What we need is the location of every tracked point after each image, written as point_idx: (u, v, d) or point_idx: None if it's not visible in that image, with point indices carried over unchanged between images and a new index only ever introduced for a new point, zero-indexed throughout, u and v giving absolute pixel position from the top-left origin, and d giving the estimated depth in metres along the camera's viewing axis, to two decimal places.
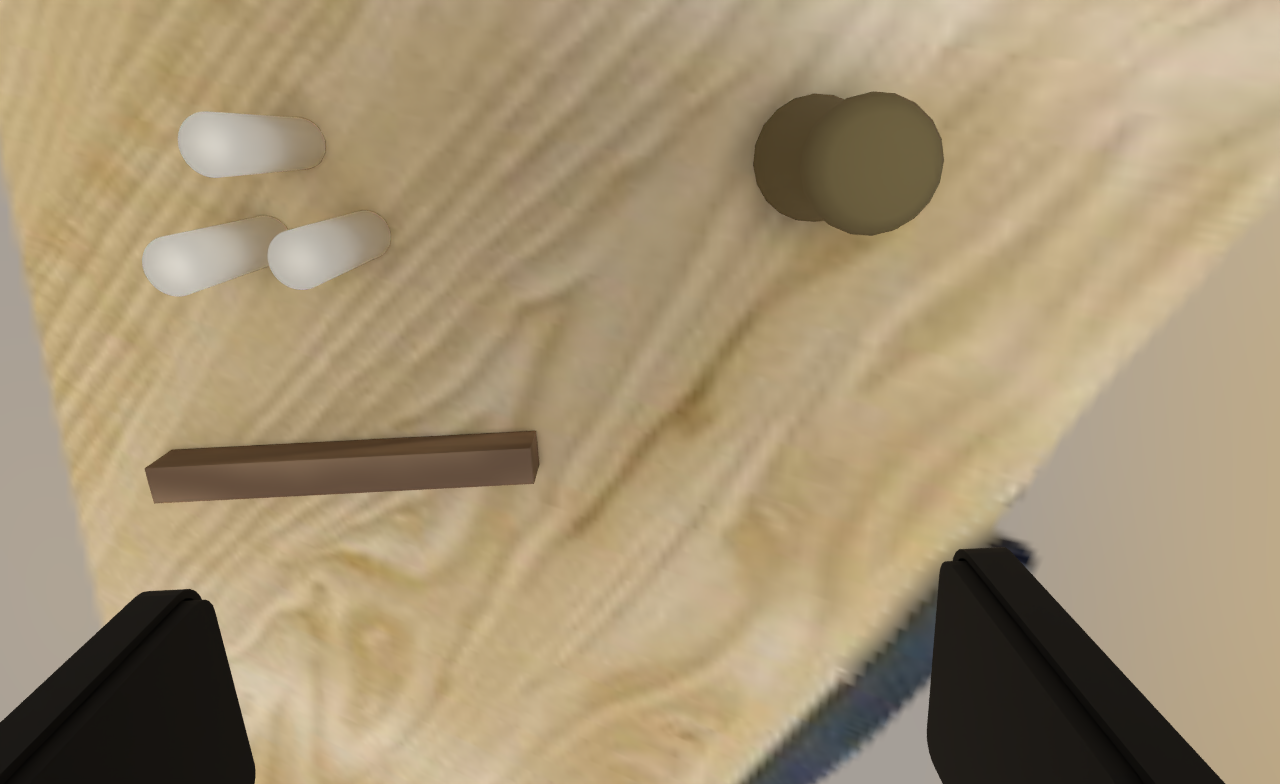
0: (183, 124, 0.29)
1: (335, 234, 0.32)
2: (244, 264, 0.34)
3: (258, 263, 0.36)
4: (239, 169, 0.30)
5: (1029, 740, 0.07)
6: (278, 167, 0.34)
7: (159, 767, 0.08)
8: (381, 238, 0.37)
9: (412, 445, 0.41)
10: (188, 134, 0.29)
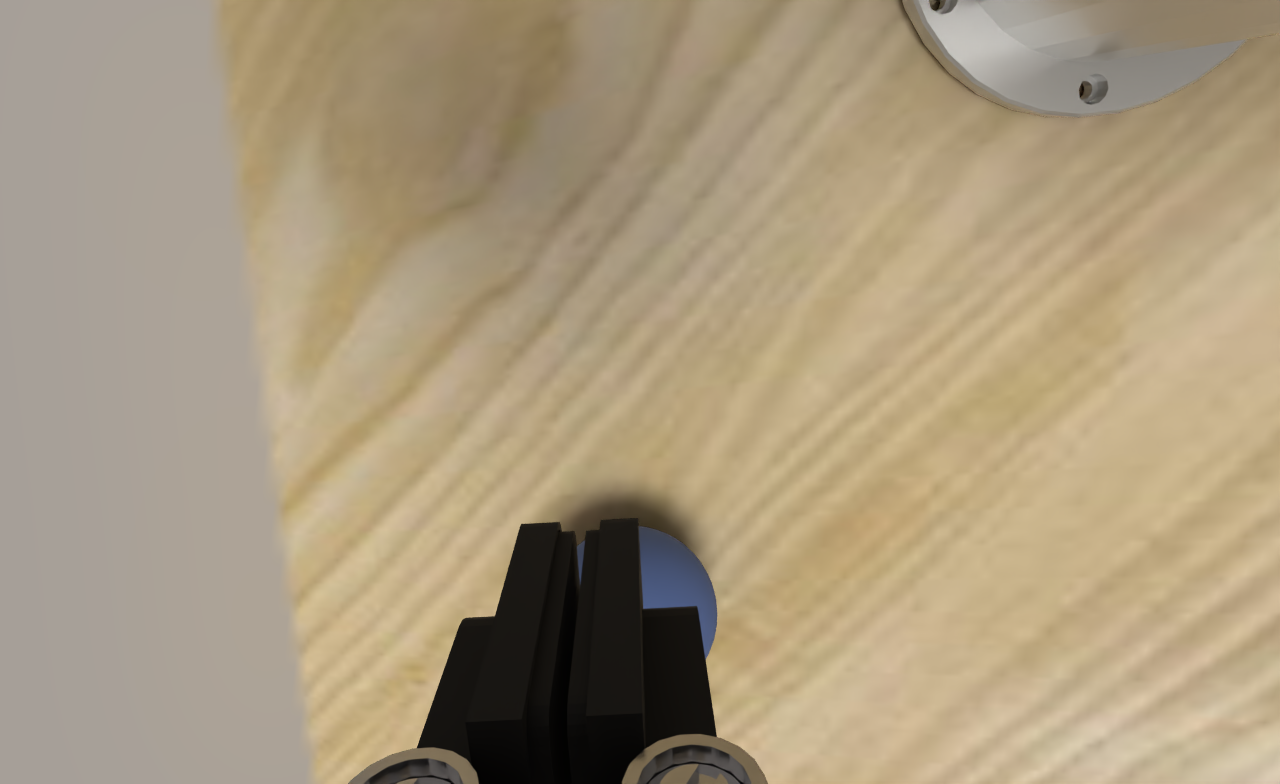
0: None
1: None
2: None
3: None
4: None
5: None
6: None
7: None
8: None
9: None
10: None
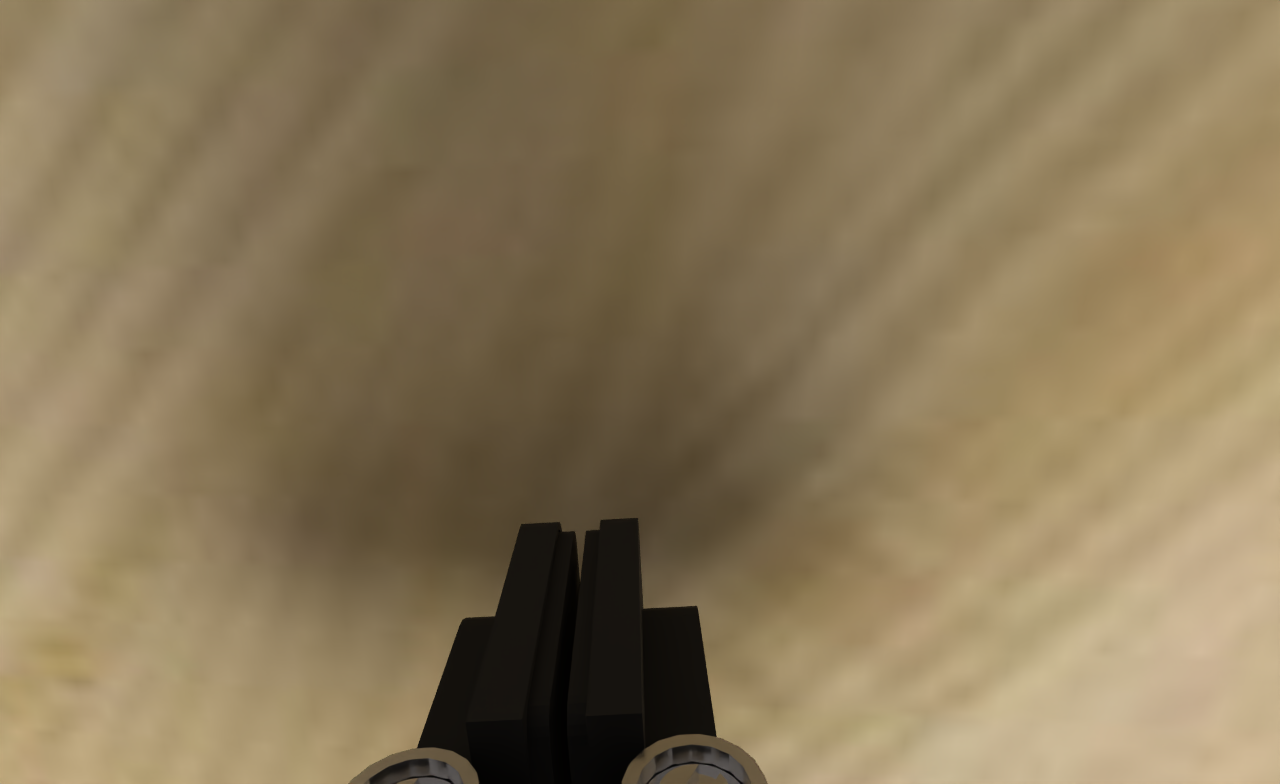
0: None
1: None
2: None
3: None
4: None
5: None
6: None
7: None
8: None
9: None
10: None
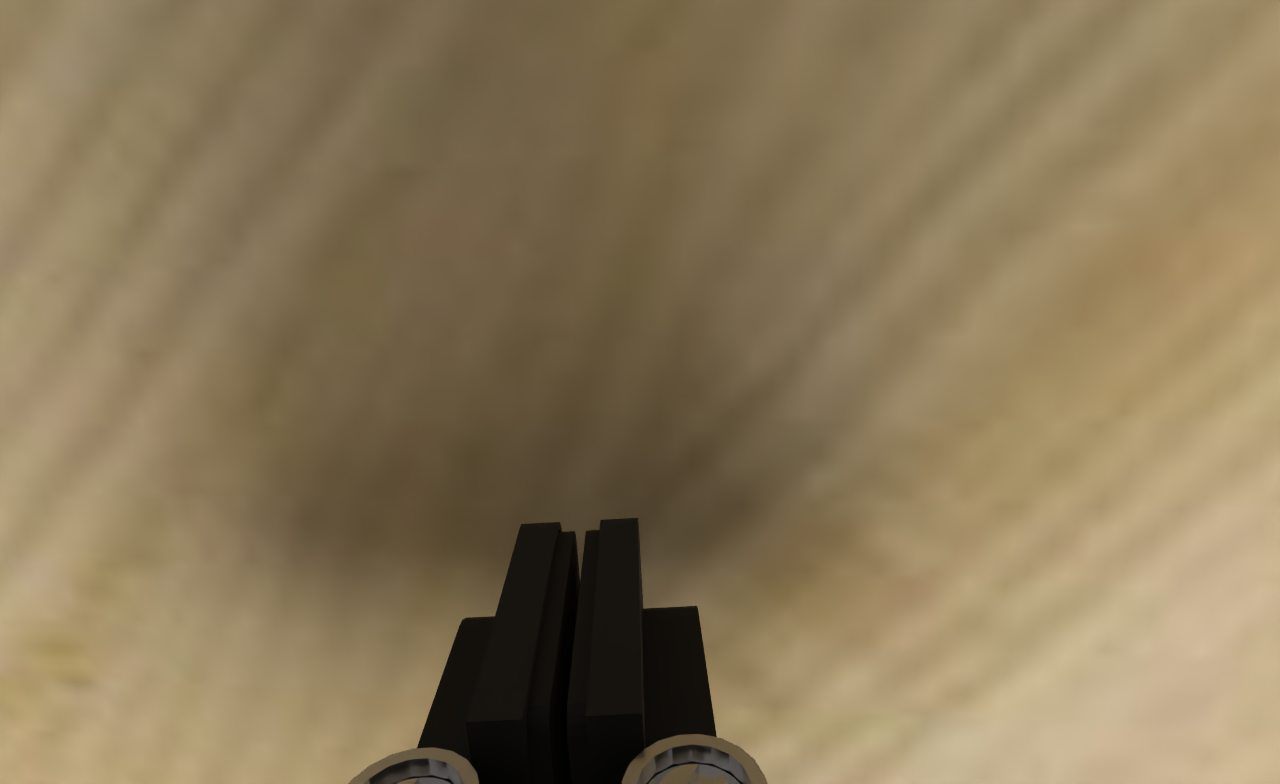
0: None
1: None
2: None
3: None
4: None
5: None
6: None
7: None
8: None
9: None
10: None
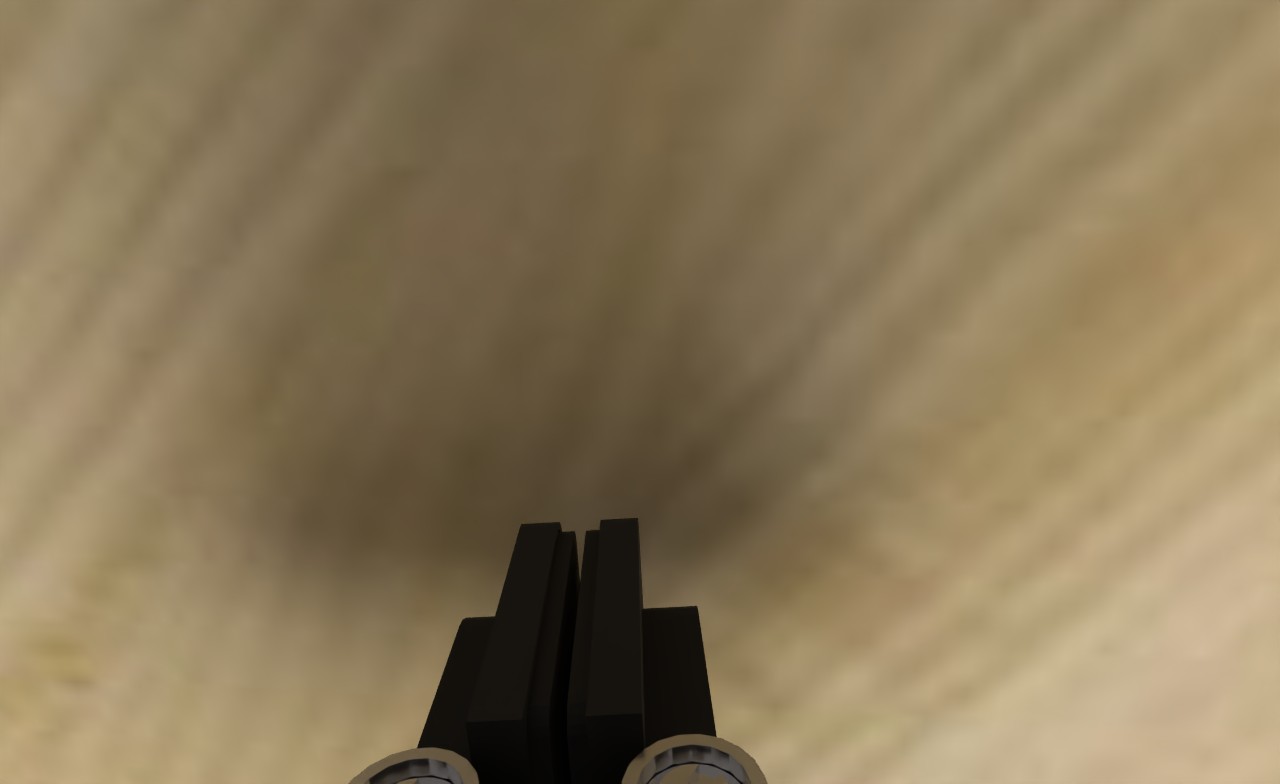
0: None
1: None
2: None
3: None
4: None
5: None
6: None
7: None
8: None
9: None
10: None
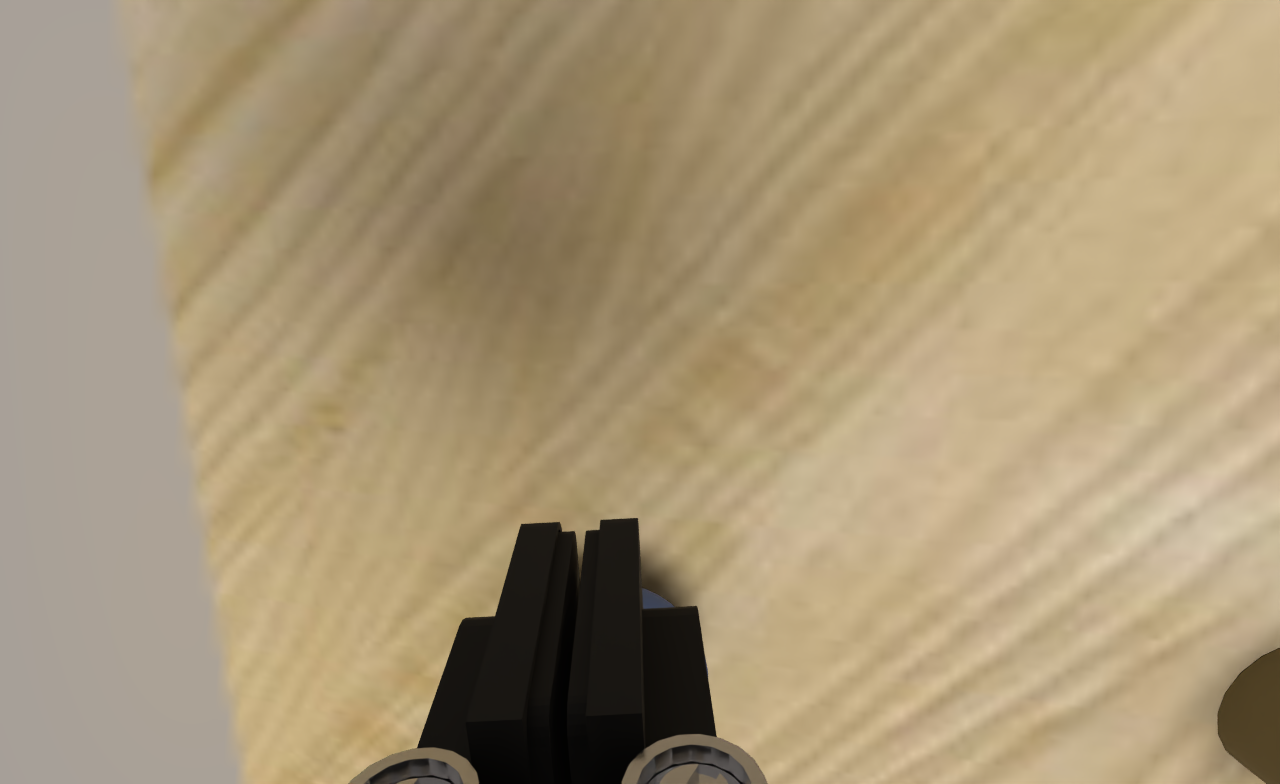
0: None
1: None
2: None
3: None
4: None
5: None
6: None
7: None
8: None
9: None
10: None
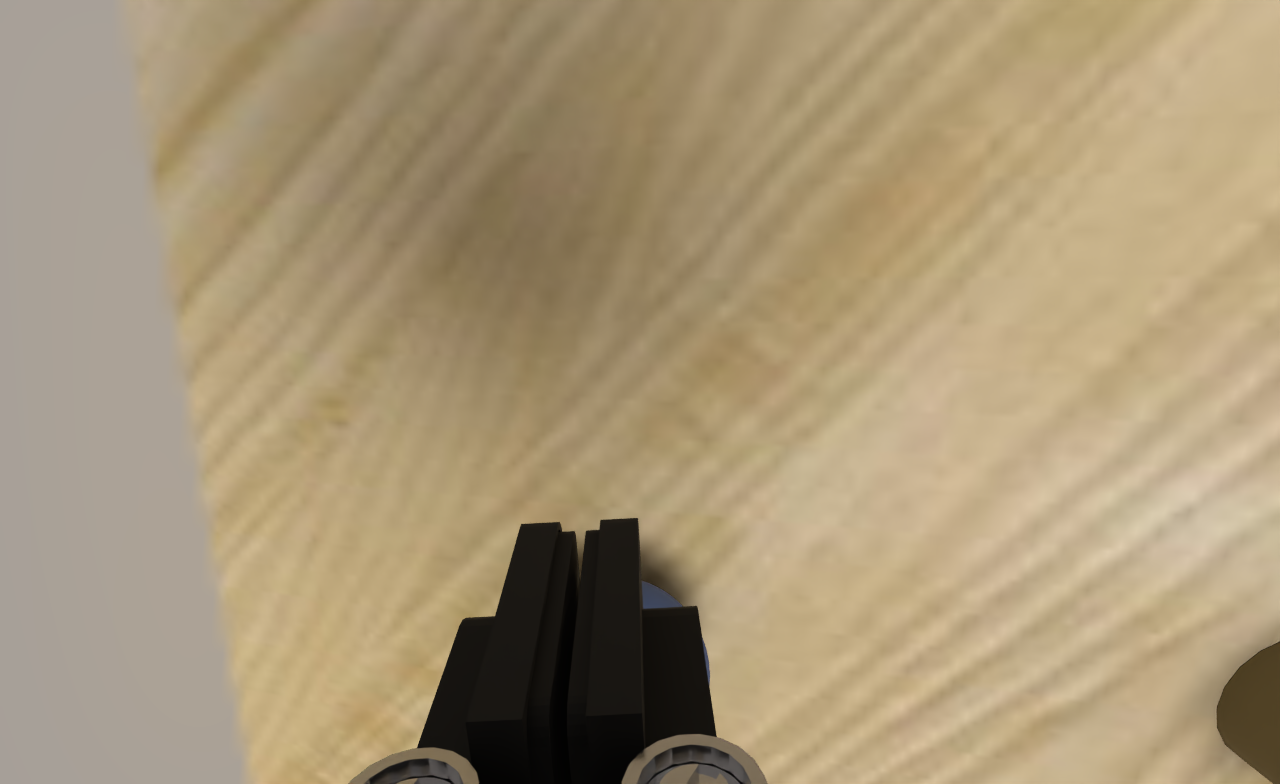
0: None
1: None
2: None
3: None
4: None
5: None
6: None
7: None
8: None
9: None
10: None
